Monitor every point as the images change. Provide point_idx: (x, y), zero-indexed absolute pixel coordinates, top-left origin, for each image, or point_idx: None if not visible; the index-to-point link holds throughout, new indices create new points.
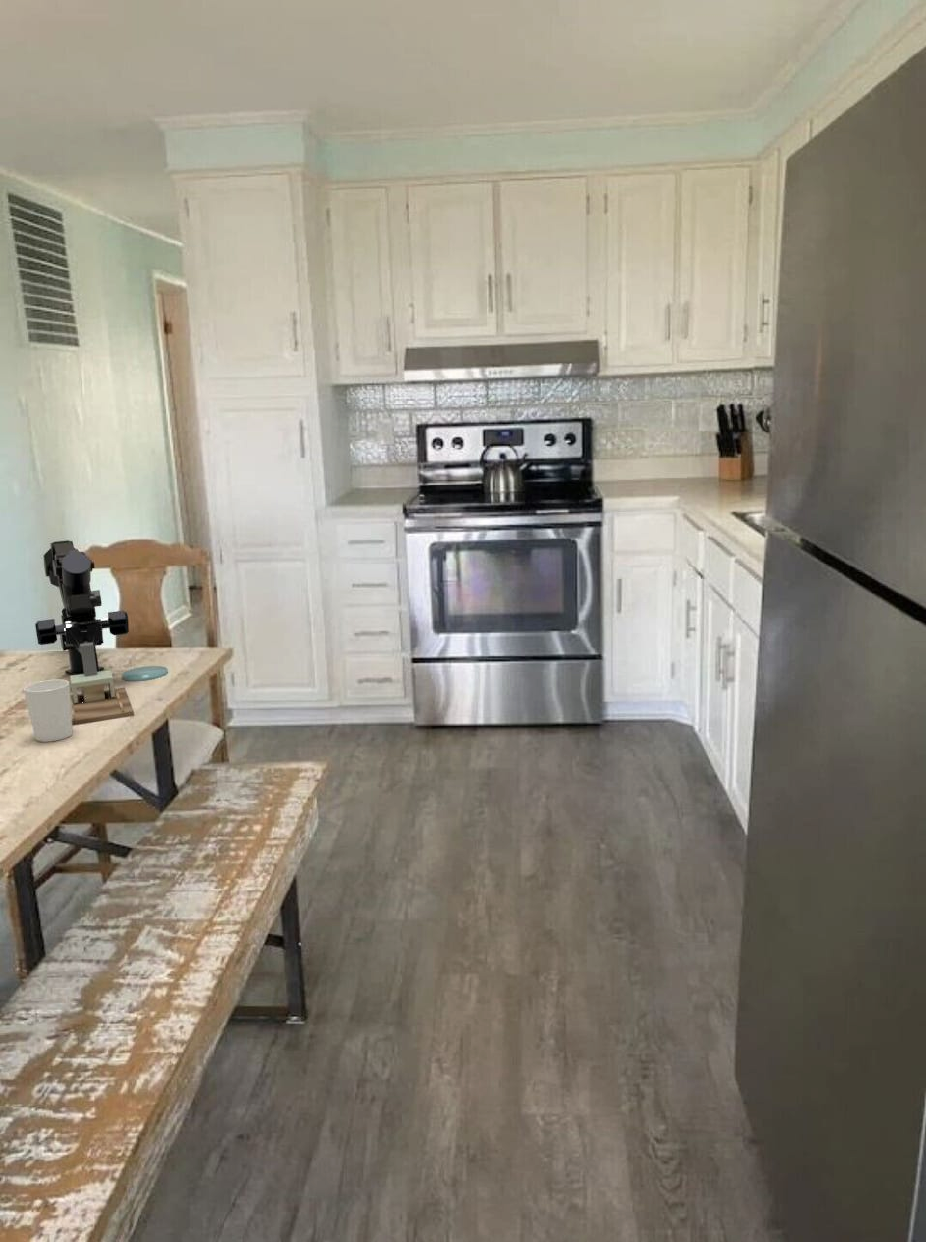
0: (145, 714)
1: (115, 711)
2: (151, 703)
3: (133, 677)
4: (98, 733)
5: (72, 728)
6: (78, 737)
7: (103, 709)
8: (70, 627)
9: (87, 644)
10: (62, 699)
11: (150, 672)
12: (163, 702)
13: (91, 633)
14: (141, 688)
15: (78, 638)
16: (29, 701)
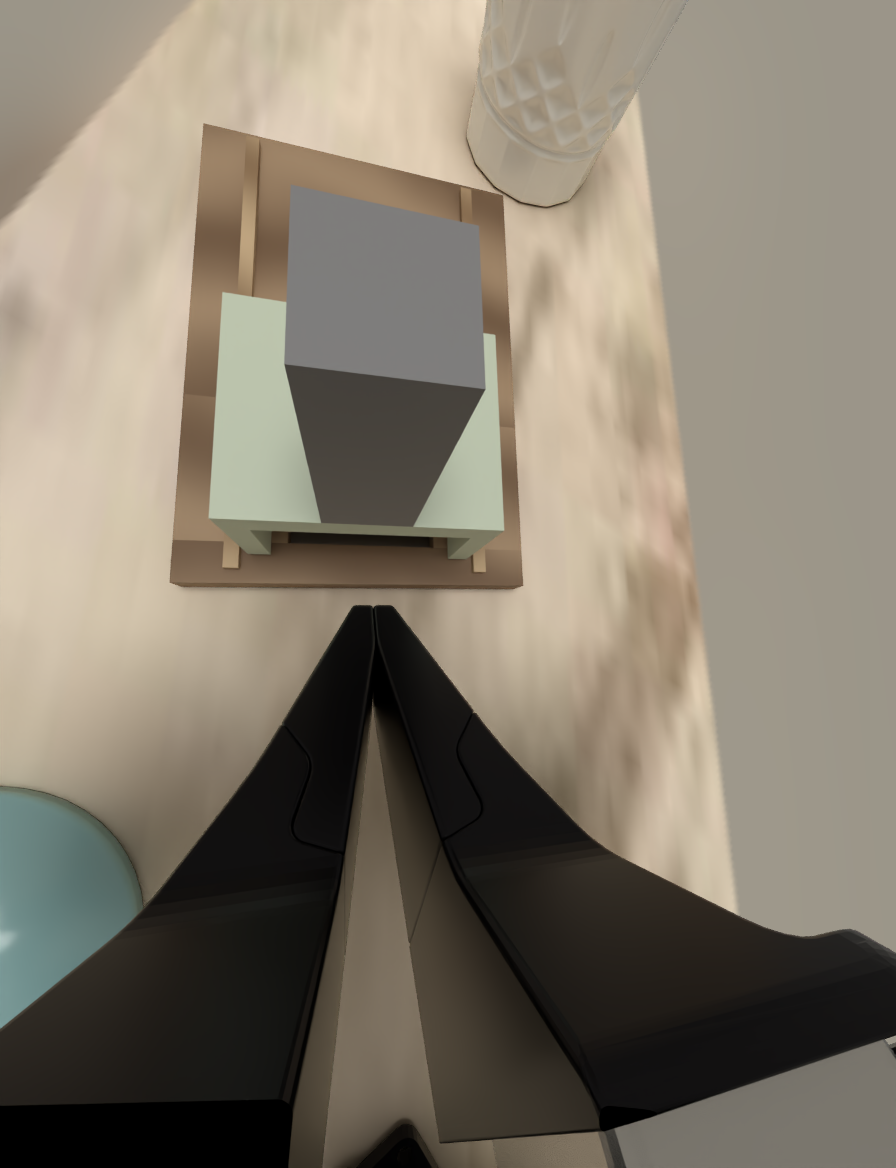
0: (156, 140)
1: (287, 181)
2: (84, 279)
3: (58, 842)
4: (380, 65)
5: (471, 107)
6: (449, 79)
7: None
8: (872, 1009)
9: (378, 273)
10: None
11: None
12: (13, 253)
13: (221, 918)
14: (68, 609)
15: (507, 813)
16: None
